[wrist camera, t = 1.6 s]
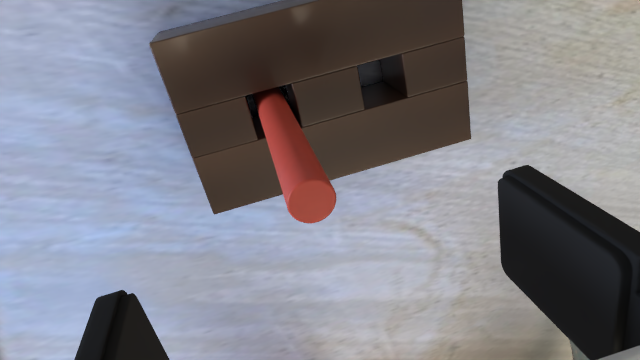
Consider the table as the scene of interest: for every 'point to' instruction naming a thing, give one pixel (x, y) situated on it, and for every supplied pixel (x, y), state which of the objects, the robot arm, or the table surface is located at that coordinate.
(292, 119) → the straw
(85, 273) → the table surface
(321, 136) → the block with rectangular slots
